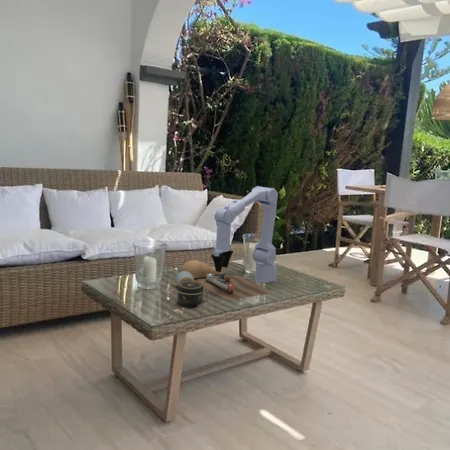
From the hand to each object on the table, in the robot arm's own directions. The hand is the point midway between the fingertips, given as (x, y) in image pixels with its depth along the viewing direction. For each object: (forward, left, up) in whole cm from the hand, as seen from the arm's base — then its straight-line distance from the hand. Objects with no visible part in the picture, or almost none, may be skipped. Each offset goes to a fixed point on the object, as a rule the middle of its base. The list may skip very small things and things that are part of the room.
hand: (221, 269), depth 206 cm
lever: (-3, -4, -9) cm, 10 cm away
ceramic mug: (+11, -8, -10) cm, 17 cm away
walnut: (-10, -11, -9) cm, 17 cm away
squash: (-4, -23, -11) cm, 26 cm away
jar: (+18, +7, -10) cm, 22 cm away
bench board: (-8, -2, -10) cm, 13 cm away
